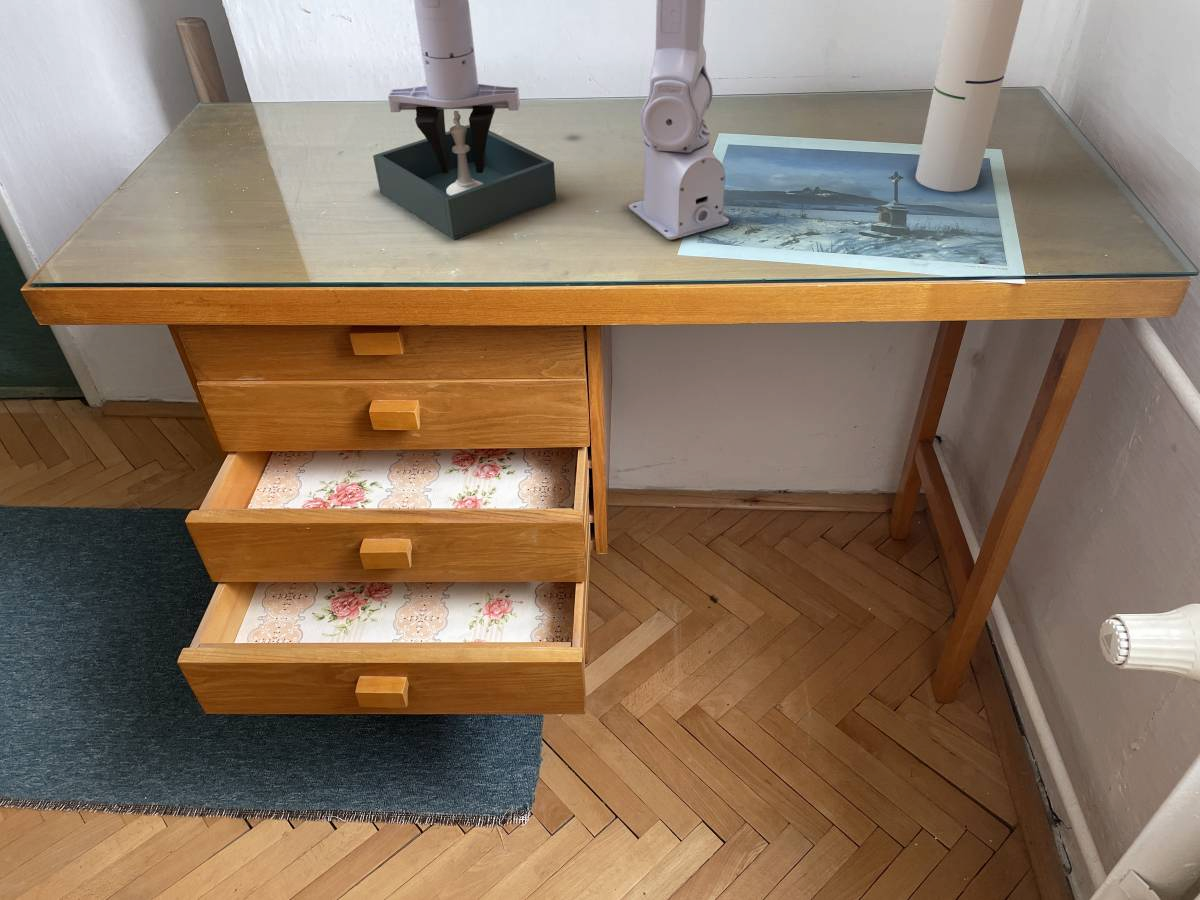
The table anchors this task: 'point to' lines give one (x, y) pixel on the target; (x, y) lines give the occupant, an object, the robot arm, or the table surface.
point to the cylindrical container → (966, 92)
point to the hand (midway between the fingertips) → (463, 169)
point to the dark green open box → (505, 193)
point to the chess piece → (461, 159)
